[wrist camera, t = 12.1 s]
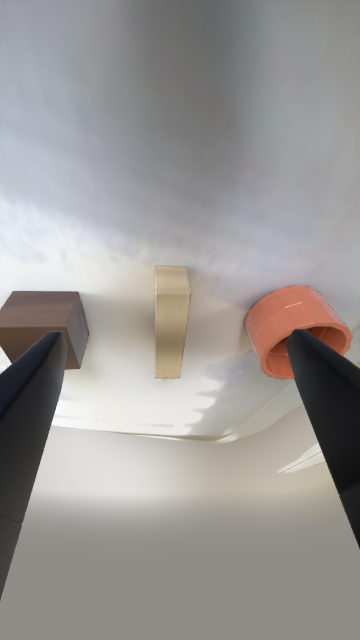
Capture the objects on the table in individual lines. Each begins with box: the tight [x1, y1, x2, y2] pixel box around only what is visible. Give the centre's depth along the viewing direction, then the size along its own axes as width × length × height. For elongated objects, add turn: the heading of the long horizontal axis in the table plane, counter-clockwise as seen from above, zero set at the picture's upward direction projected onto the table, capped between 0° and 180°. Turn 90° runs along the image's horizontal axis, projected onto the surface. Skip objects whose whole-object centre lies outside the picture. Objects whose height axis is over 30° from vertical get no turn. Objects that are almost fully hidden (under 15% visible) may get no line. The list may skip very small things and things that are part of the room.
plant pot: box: [245, 286, 352, 379], centre depth 24 cm, size 8×8×6 cm
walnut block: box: [0, 291, 89, 369], centre depth 22 cm, size 6×6×4 cm
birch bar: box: [155, 266, 191, 379], centre depth 23 cm, size 11×3×4 cm, turn 176°
